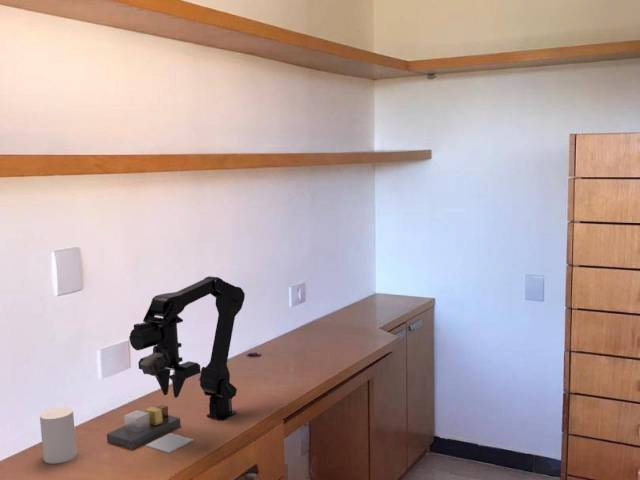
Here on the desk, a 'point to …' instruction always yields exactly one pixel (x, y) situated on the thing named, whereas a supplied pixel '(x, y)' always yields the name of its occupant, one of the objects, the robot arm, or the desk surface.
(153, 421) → the block
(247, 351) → the desk surface
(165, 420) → the dark grey base plate
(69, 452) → the cup
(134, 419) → the light grey block
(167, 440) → the felt mat
